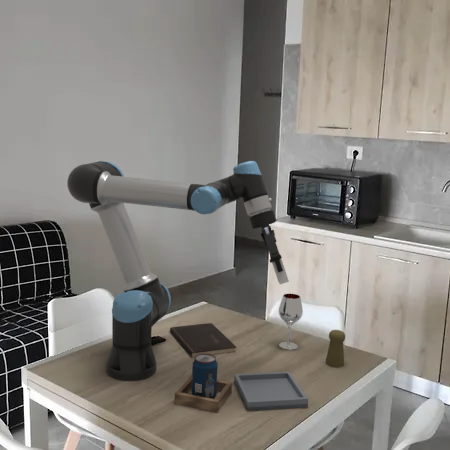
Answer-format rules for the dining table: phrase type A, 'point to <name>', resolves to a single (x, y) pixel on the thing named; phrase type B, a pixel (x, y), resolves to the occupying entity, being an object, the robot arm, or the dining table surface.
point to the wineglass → (290, 316)
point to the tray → (270, 391)
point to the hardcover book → (202, 339)
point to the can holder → (203, 402)
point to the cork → (336, 349)
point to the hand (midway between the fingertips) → (283, 282)
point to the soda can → (204, 376)
